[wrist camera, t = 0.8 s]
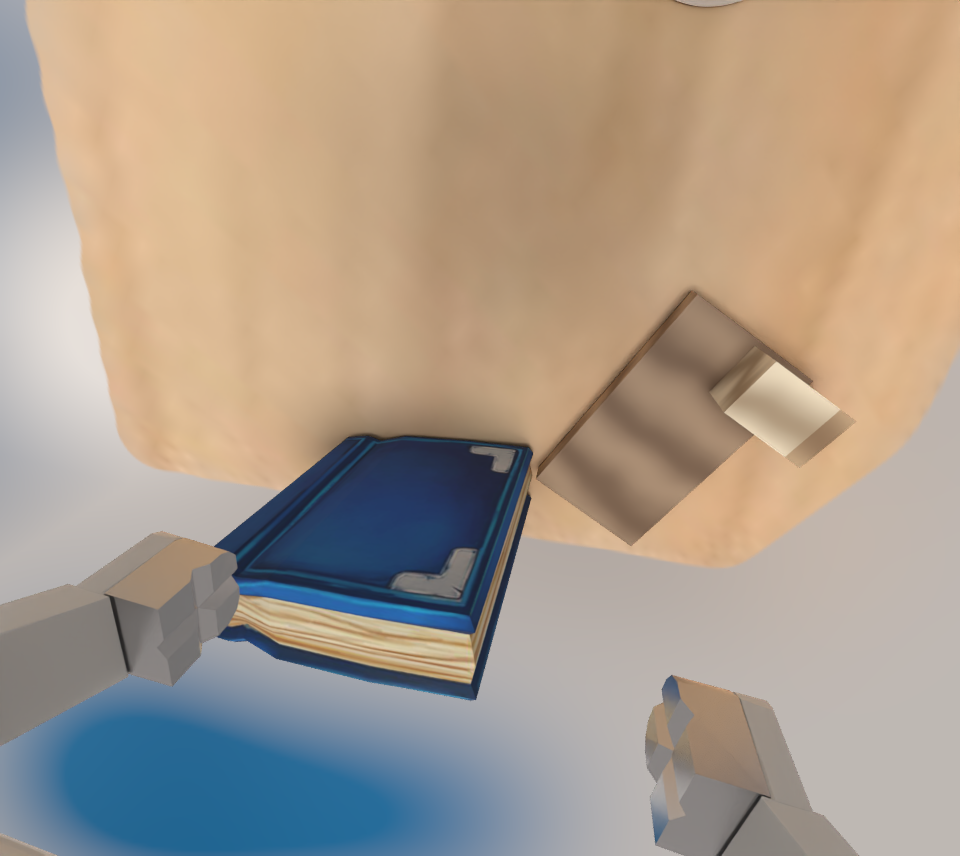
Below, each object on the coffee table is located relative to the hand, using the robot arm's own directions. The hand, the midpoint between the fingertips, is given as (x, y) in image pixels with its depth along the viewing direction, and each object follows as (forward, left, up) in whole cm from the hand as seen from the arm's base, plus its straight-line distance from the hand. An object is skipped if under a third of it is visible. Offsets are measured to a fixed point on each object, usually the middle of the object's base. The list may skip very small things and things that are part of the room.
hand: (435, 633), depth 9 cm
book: (+21, -1, -39) cm, 44 cm away
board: (+3, +14, -38) cm, 41 cm away
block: (-5, +18, -38) cm, 43 cm away
